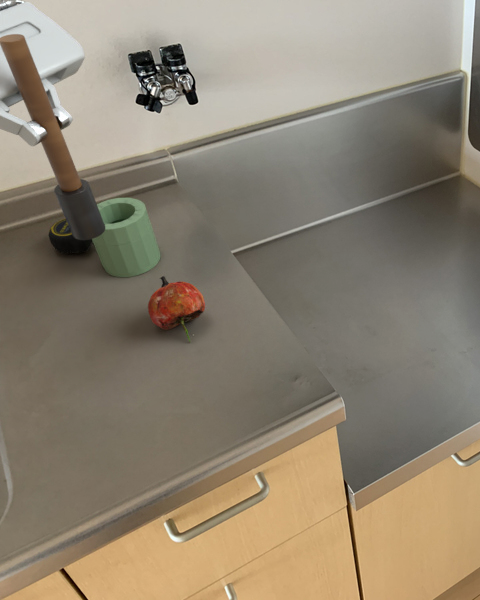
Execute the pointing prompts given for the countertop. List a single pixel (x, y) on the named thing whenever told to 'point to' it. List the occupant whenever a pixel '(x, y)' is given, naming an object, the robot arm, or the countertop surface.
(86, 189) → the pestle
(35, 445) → the countertop surface
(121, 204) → the green tube segment
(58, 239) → the tape measure
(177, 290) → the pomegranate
